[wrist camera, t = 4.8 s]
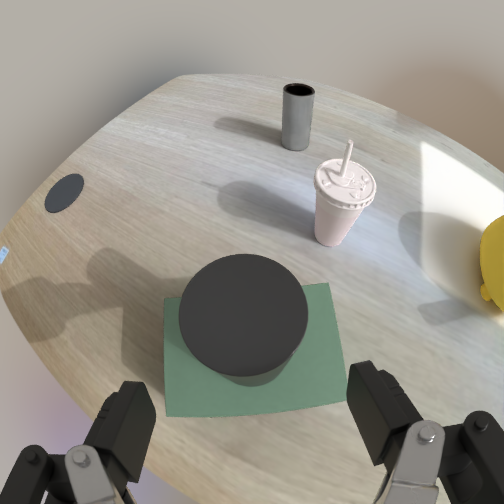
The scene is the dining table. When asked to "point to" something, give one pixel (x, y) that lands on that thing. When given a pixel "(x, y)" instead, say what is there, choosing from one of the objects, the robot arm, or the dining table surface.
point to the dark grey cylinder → (244, 318)
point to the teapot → (493, 262)
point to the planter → (297, 116)
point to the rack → (265, 396)
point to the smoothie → (340, 197)
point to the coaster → (64, 193)
